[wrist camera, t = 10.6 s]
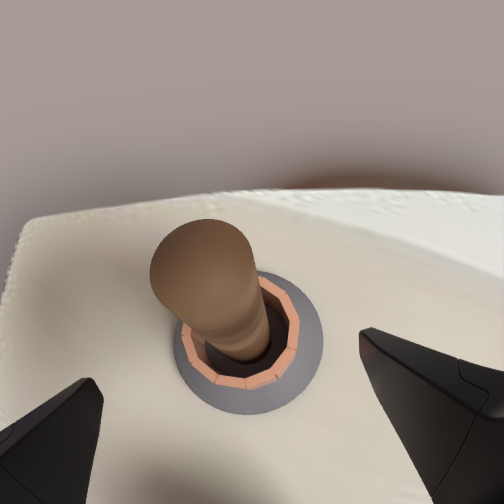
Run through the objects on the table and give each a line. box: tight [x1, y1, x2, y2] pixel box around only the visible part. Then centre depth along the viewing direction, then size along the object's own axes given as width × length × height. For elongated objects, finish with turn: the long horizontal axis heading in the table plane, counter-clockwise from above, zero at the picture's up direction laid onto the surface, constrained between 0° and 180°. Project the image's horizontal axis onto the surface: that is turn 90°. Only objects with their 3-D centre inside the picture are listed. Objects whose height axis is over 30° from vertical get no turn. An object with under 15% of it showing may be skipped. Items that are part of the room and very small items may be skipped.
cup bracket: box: [174, 271, 323, 415], centre depth 20 cm, size 11×11×4 cm
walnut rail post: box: [150, 219, 272, 365], centre depth 15 cm, size 4×4×12 cm
